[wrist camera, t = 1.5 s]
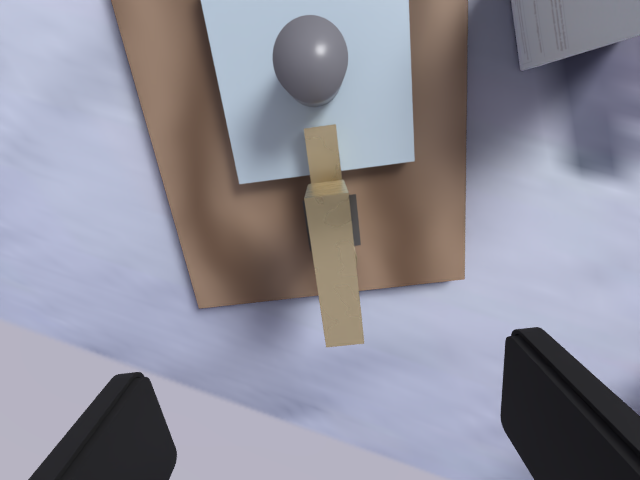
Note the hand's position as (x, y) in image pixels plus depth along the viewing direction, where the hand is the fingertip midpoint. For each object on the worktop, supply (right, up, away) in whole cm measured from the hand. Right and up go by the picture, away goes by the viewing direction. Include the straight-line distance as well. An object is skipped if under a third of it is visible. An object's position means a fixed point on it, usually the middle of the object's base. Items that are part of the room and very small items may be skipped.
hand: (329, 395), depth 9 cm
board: (-1, +11, +16) cm, 19 cm away
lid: (-1, +15, +13) cm, 20 cm away
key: (0, +7, +15) cm, 17 cm away
